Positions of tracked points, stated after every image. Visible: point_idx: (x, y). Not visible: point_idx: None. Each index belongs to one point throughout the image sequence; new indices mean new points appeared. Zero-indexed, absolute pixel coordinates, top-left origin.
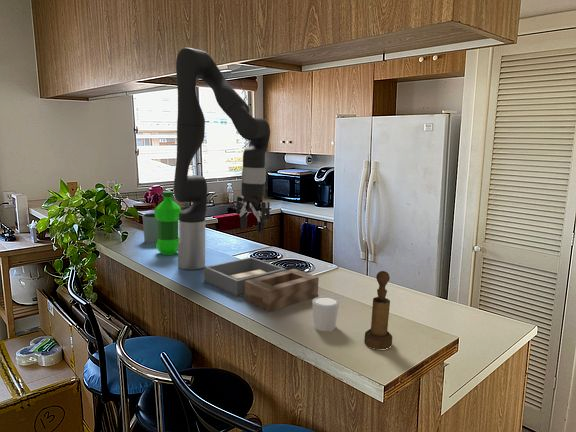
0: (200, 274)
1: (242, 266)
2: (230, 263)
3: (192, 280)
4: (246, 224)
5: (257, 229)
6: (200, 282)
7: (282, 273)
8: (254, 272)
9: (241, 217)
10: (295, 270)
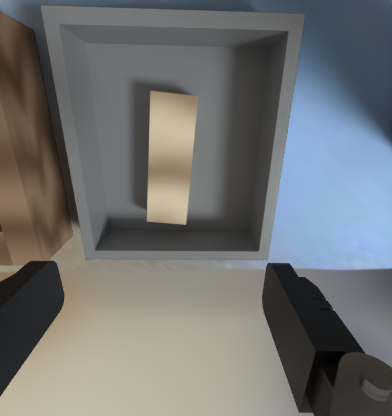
0: (350, 80)
1: (257, 206)
2: (270, 157)
3: (323, 6)
4: (269, 321)
5: (28, 276)
6: None
7: (8, 201)
8: (170, 190)
9: (331, 349)
10: (21, 257)
